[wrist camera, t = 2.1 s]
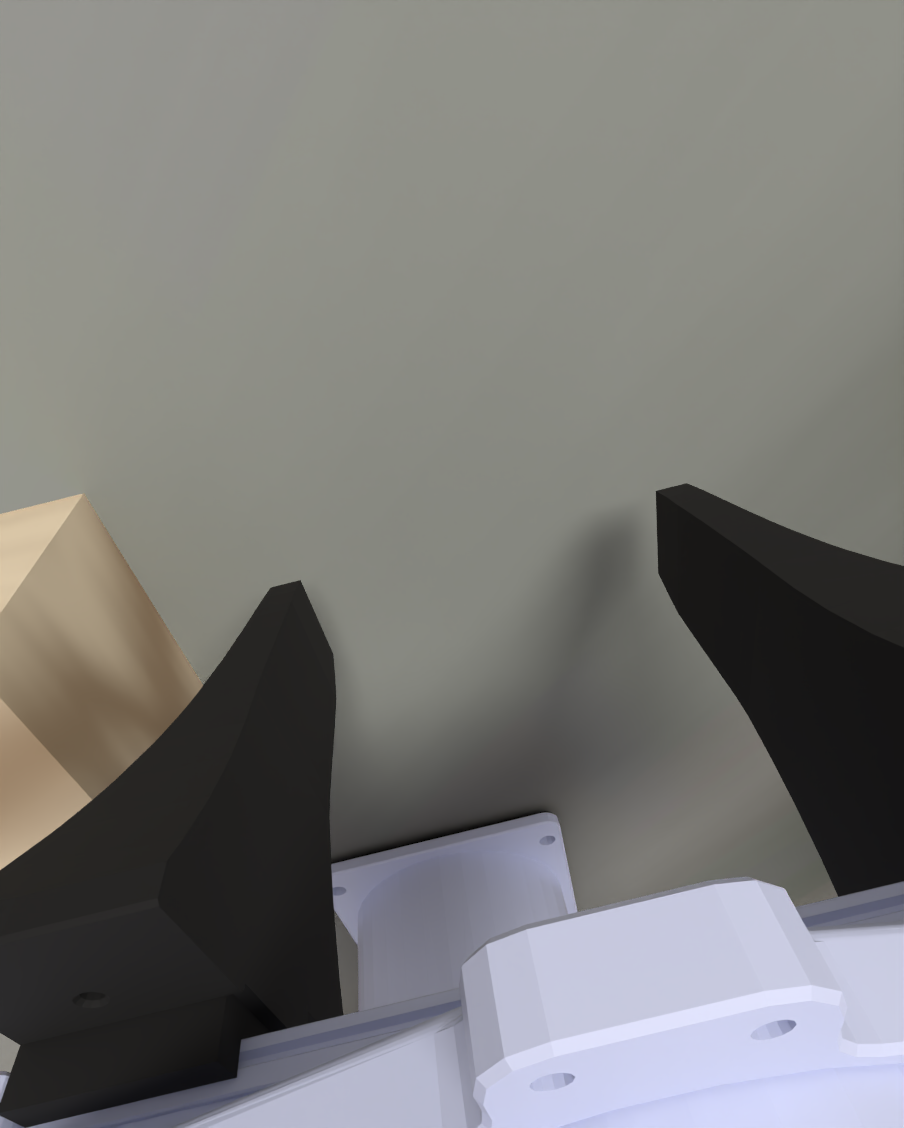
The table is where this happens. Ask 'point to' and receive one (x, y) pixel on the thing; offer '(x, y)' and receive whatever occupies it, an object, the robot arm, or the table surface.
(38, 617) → the block
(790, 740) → the robot arm
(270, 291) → the table surface
